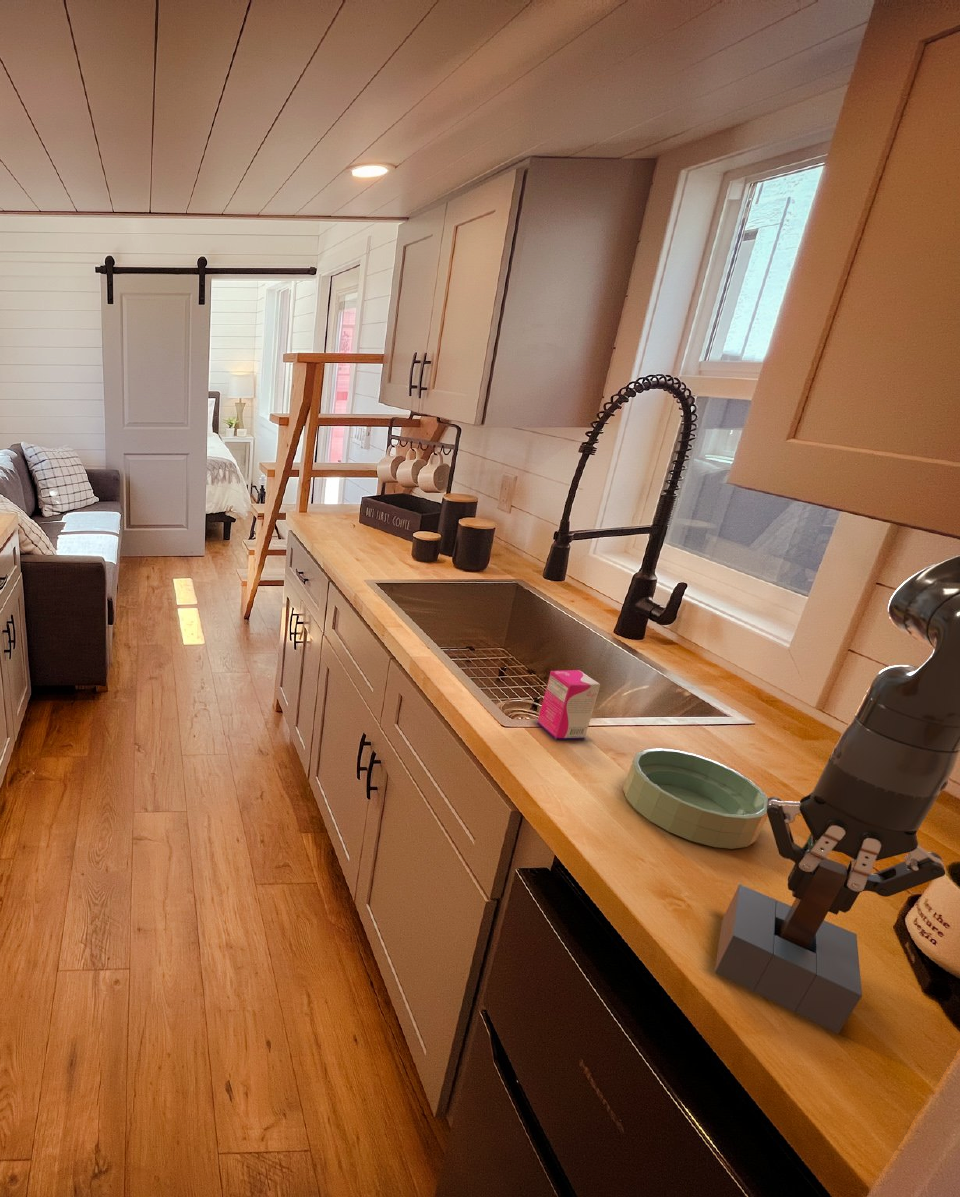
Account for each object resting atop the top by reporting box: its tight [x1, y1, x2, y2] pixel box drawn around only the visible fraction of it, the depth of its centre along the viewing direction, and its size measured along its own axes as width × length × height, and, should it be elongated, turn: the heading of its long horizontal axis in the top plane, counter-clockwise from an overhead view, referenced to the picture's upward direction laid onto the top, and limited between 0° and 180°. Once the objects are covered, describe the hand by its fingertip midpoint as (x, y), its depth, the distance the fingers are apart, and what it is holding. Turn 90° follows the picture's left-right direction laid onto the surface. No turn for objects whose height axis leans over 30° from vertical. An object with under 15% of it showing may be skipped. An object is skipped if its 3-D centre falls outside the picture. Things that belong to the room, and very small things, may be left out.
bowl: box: [622, 747, 769, 850], centre depth 98 cm, size 16×16×6 cm
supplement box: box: [536, 669, 601, 741], centre depth 117 cm, size 6×6×12 cm
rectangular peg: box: [776, 857, 848, 949], centre depth 71 cm, size 2×2×16 cm
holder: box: [714, 883, 863, 1035], centre depth 73 cm, size 10×10×6 cm
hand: (813, 900), depth 70 cm, fingers closed on rectangular peg, 2 cm apart
